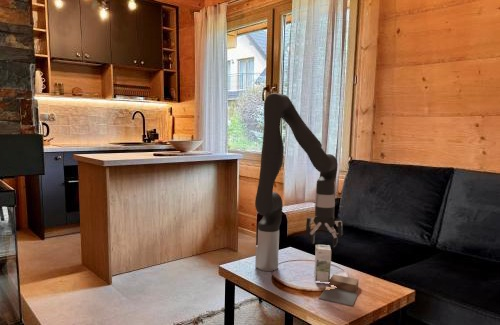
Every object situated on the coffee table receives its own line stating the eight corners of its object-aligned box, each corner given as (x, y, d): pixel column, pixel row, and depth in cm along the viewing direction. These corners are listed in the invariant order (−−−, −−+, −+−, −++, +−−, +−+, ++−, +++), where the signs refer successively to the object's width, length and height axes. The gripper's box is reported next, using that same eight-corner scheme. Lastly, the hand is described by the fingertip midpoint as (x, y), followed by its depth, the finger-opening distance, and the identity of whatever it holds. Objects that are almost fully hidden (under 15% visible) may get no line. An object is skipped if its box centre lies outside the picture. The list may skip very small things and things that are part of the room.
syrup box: (328, 278, 151) (329, 244, 150) (329, 285, 146) (331, 249, 144) (314, 278, 152) (315, 243, 150) (315, 284, 146) (316, 248, 145)
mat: (319, 299, 134) (319, 297, 134) (326, 287, 143) (326, 286, 143) (352, 306, 128) (352, 305, 128) (358, 293, 138) (358, 292, 138)
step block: (329, 287, 143) (329, 279, 143) (332, 281, 149) (333, 274, 149) (355, 292, 139) (356, 285, 139) (358, 286, 145) (358, 279, 144)
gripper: (304, 204, 145) (303, 244, 147) (341, 208, 139) (339, 250, 141) (310, 201, 152) (309, 239, 154) (345, 204, 146) (343, 244, 147)
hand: (323, 244), depth 147 cm, fingers open, 8 cm apart
